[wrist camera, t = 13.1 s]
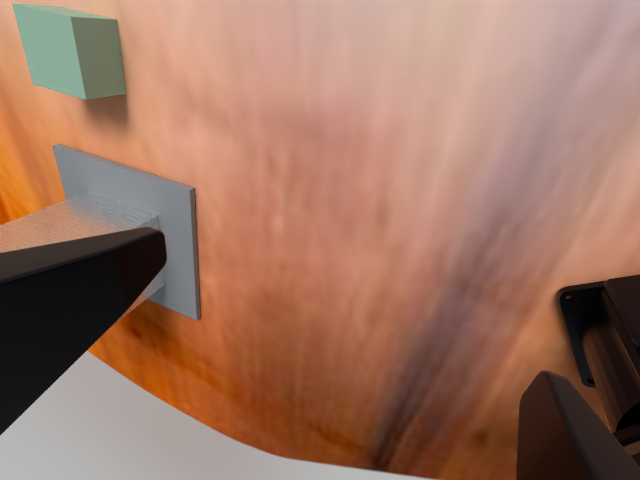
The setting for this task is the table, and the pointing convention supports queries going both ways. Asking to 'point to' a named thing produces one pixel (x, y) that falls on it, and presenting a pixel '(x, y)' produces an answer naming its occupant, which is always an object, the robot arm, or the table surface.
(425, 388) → the table surface
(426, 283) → the table surface
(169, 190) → the rubber mat
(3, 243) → the silver grey block
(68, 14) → the pale green block
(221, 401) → the table surface
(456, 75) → the table surface
